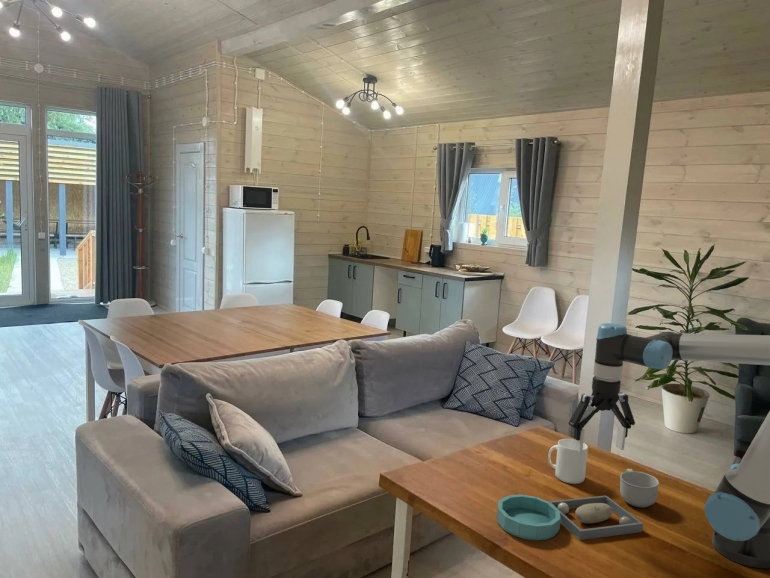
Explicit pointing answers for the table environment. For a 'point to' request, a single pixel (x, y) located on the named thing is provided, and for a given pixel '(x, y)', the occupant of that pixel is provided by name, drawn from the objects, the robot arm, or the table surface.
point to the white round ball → (563, 508)
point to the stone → (593, 513)
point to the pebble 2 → (624, 520)
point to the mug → (569, 461)
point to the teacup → (638, 488)
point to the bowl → (528, 517)
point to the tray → (601, 531)
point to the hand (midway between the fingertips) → (599, 449)
